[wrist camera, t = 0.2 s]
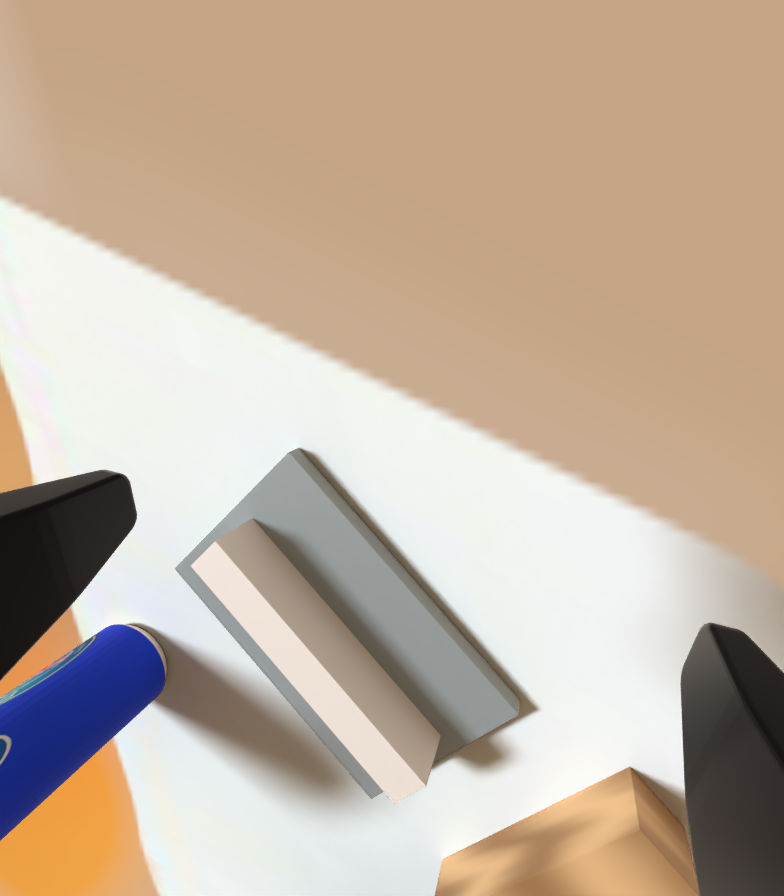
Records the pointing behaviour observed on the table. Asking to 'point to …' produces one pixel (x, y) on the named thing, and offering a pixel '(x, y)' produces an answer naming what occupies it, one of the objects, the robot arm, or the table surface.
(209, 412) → the table surface
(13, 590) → the robot arm
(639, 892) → the oak bar
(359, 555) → the stand
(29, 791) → the beverage can
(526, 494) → the table surface
